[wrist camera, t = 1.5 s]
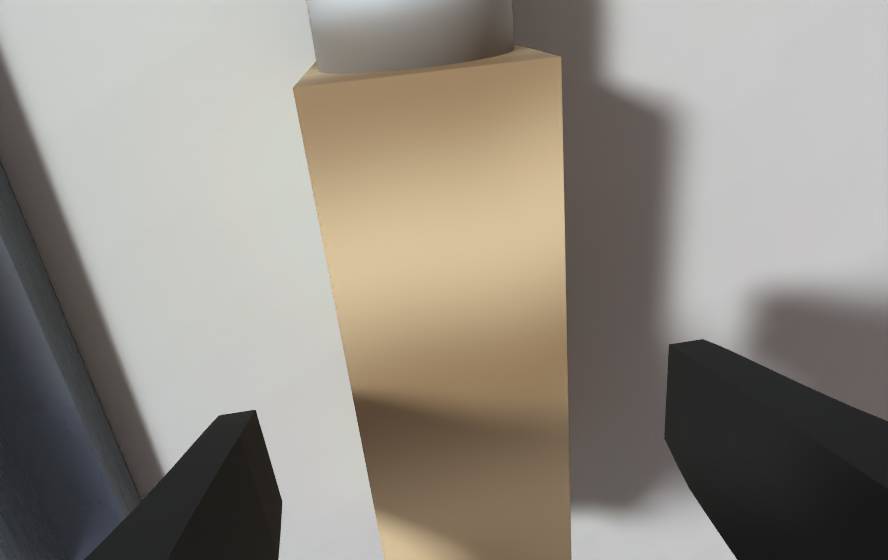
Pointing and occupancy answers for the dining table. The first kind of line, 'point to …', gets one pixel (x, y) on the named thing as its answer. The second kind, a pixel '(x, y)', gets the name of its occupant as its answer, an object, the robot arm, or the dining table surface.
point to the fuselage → (446, 268)
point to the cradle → (49, 418)
